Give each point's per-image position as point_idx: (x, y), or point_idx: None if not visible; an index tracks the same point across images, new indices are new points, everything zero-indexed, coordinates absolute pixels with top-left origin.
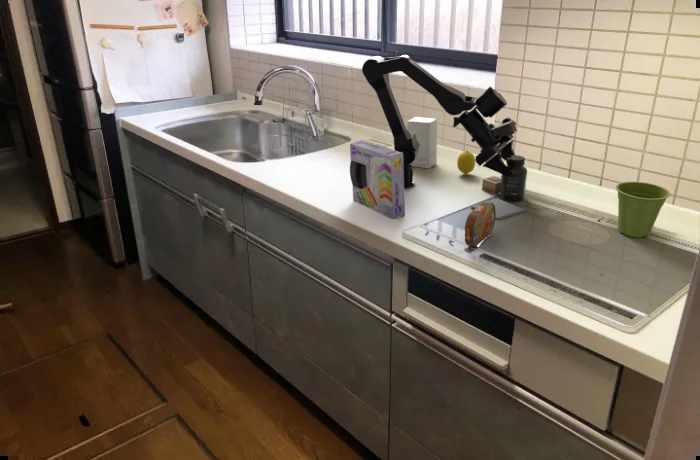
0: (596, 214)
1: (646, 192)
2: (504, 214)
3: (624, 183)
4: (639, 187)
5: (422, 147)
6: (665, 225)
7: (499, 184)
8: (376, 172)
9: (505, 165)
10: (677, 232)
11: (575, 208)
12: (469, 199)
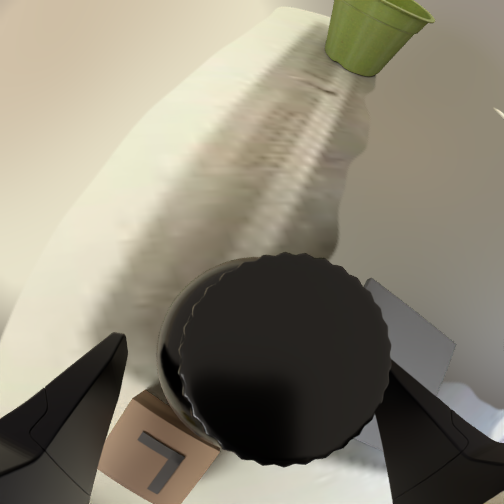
0: (288, 88)
1: None
2: (433, 332)
3: None
4: None
5: None
6: (288, 21)
7: (189, 432)
8: None
9: (427, 407)
10: (311, 20)
11: (264, 125)
12: (318, 498)
